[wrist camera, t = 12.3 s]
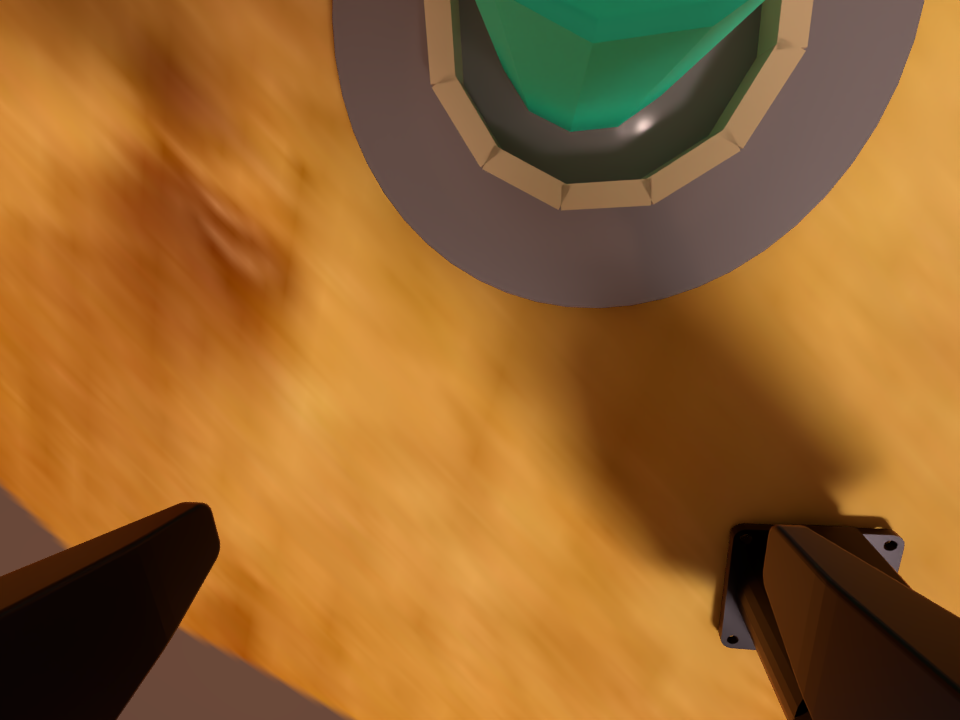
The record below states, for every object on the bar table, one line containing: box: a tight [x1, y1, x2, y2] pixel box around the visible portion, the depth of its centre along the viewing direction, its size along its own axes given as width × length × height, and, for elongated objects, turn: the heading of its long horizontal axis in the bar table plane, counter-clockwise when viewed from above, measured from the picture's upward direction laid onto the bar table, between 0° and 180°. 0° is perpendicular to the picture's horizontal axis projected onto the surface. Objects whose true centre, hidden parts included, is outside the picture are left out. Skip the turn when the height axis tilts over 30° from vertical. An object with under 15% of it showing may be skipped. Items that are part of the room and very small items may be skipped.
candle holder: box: [332, 0, 924, 308], centre depth 15 cm, size 18×18×2 cm
